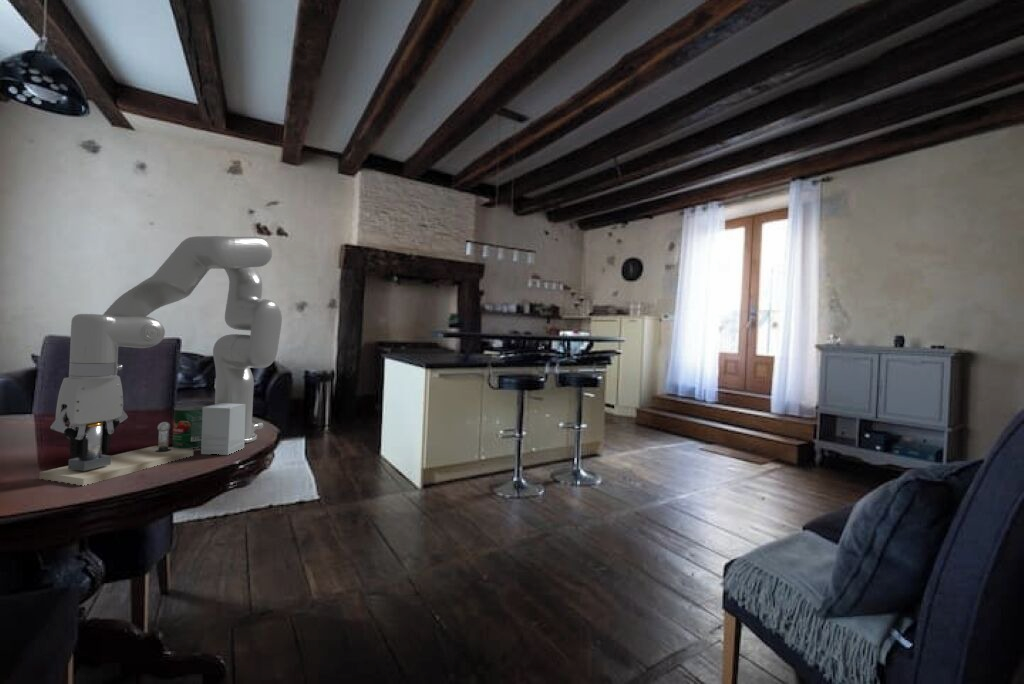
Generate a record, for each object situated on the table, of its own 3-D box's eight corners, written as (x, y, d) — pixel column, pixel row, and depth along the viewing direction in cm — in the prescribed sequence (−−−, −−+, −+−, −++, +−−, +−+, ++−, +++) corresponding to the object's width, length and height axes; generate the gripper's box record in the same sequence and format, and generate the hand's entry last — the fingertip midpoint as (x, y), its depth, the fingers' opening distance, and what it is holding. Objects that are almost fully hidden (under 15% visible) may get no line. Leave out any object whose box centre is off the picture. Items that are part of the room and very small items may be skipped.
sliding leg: (95, 462, 97) (97, 419, 96) (110, 464, 96) (112, 421, 96) (68, 468, 92) (70, 424, 92) (84, 471, 91) (85, 425, 91)
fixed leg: (164, 448, 111) (165, 420, 111) (172, 449, 110) (173, 421, 110) (153, 451, 108) (155, 422, 108) (162, 452, 108) (163, 423, 108)
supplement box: (245, 448, 120) (247, 403, 120) (227, 455, 112) (229, 407, 112) (218, 447, 120) (220, 402, 120) (199, 454, 112) (201, 406, 112)
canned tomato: (164, 449, 116) (166, 408, 116) (186, 442, 124) (188, 404, 123) (194, 450, 116) (196, 409, 116) (214, 443, 124) (215, 405, 124)
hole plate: (156, 451, 113) (156, 445, 113) (193, 455, 111) (193, 449, 111) (39, 479, 90) (39, 471, 90) (83, 486, 87) (83, 478, 87)
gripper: (122, 367, 102) (118, 444, 103) (31, 372, 86) (27, 463, 86) (147, 369, 101) (143, 447, 101) (59, 374, 85) (55, 467, 85)
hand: (90, 453), depth 94 cm, fingers closed on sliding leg, 3 cm apart
